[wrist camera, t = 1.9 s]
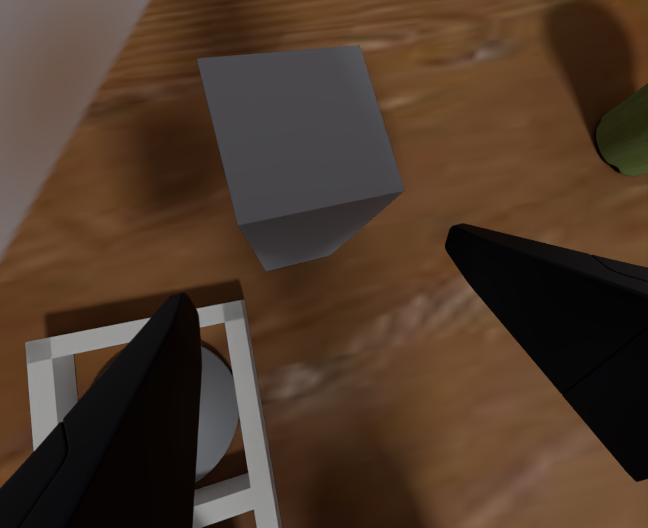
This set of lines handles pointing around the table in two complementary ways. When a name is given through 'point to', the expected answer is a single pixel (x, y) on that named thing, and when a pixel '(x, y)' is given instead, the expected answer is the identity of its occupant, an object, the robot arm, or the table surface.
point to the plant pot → (626, 134)
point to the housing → (214, 418)
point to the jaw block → (300, 148)
